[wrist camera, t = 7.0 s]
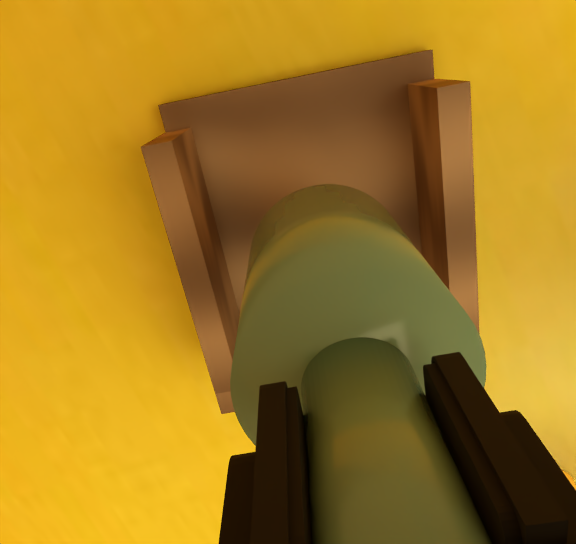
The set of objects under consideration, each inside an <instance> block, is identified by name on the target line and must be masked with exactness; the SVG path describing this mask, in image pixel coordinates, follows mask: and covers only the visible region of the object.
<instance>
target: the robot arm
mask: <svg viewBox="0 0 576 544" xmlns="http://www.w3.org/2000/svg"><path fill="white" fill-rule="evenodd" d="M423 375H424V386H425V396H426V398H427V400H428V402H429V405H430V407H431V409H432V411H433V414H434V416H435V418H436V420H437V422H438V425H439V427H440V429H441V431H442V433H443V436H444V438H445V440H446V442H447V445H448V447H449V449H450V451H451V453H452V456H453V458H454V460H455V462H456V464H457V467H458V469H459V471H460V473H461V476H462V478H463V480H464V482H465V484H466V487H467V489H468V491H469V493H470V496H471V498H472V500H473V502H474V504H475V507H476V509H477V511H478V513H479V515H480V518H481V520H482V522H483V524H484V527H485V529H486V531H487V533H488V535H489V538H490V540H491V542H492V544H576V490H575V488H574V487H573V486H572V484H571V483H570V481H569V480H568V479H567V477H566V476H565V474H564V473H563V471H562V470H561V469H560V467H559V466H558V464H557V463H556V462H555V460H554V459H553V457H552V456H551V454H550V453H549V452H548V450H547V449H546V447H545V446H544V445H543V443H542V442H541V440H540V439H539V437H538V436H537V435H536V433H535V432H534V430H533V429H532V428H531V426H530V425H529V423H528V422H527V420H526V419H525V418H524V417H523V415H522V414H521V413H520V412H518V411H516V410H514V411H508V412H501V413H499V411H498V410H497V408H496V407H495V405H494V403H493V402H492V400H491V399H490V397H489V396H488V394H487V393H486V391H485V389H484V388H483V386H482V385H481V383H480V382H479V380H478V379H477V377H476V375H475V374H474V372H473V371H472V369H471V368H470V366H469V365H468V363H467V361H466V360H465V358H464V357H463V355H462V354H461V353H460V352H455V353H449V354H443V355H437V356H432V358H431V364H427V365H424V366H423ZM219 544H313V543H312V529H311V515H310V501H309V487H308V473H307V459H306V445H305V431H304V417H303V411H302V407H301V402H300V398H299V393H298V389H297V386H295V387H289V388H288V386H287V383H286V381H283V382H277V383H271V384H265V385H260V388H259V403H258V419H257V436H256V452H252V453H246V454H240V455H233V456H231V458H230V461H229V466H228V474H227V482H226V490H225V498H224V506H223V514H222V522H221V530H220V537H219Z"/></svg>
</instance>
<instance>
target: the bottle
mask: <svg viewBox="0 0 576 544" xmlns="http://www.w3.org/2000/svg"><path fill="white" fill-rule="evenodd" d="M455 352H460V353H461V354H462V355H463V357H464V358H465V360H466V361H467V363H468V365H469V366H470V368H471V369H472V371H473V372H474V374H475V375H476V377H477V379H478V380H479V382H480V383H481V385H482V386H483V388H484V385H485V381H486V359H485V351H484V348H483V344H482V340H481V337H480V335H479V333H478V331H477V329H476V327H475V325H474V323H473V322H472V320H471V319H470V317H469V316H468V314H467V313H466V311H465V310H464V309H463V308H462V306H461V305H460V304H459V302H458V301H457V300H456V299H455V297H454V296H453V295H452V293H451V292H450V291H449V290H448V288H447V287H446V286H445V284H444V283H443V282H442V281H441V279H440V278H439V277H438V275H437V274H436V273H435V272H434V270H433V269H432V268H431V266H430V265H429V264H428V262H427V261H426V260H425V259H424V257H423V256H422V255H421V253H420V252H419V251H418V250H417V248H416V247H415V246H414V244H413V243H412V242H411V241H410V239H409V238H408V237H407V235H406V234H405V233H404V232H403V230H402V229H401V228H400V226H399V225H398V224H397V223H396V221H395V220H394V219H393V217H392V216H391V215H390V214H389V212H388V211H387V210H386V209H385V208H384V207H383V206H382V204H380V203H379V202H378V201H377V200H376V199H374V198H373V197H371V196H370V195H368V194H366V193H365V192H362V191H360V190H358V189H355V188H352V187H348V186H344V185H337V184H321V185H313V186H309V187H306V188H302V189H300V190H297V191H295V192H293V193H291V194H289V195H287V196H285V197H284V198H282V199H281V200H280V201H278V202H277V203H276V204H275V205H274V206H273V207H272V208H271V209H270V210H269V211H268V212H267V213H266V214H265V216H264V217H263V218H262V220H261V221H260V223H259V225H258V227H257V229H256V231H255V234H254V236H253V240H252V243H251V248H250V255H249V261H248V267H247V274H246V280H245V286H244V292H243V299H242V305H241V311H240V318H239V324H238V330H237V336H236V343H235V349H234V355H233V362H232V369H231V377H230V388H231V398H232V403H233V408H234V410H235V413H236V416H237V418H238V421H239V423H240V425H241V426H242V428H243V430H244V432H245V433H246V435H247V436H248V437H249V438H250V440H251V441H252V442H253V444H254V445H255V446H256V436H257V419H258V403H259V388H260V385H265V384H271V383H277V382H283V381H286V383H287V386H288V388H289V387H295V386H297V389H298V393H299V398H300V402H301V407H302V411H303V417H304V431H305V445H306V459H307V473H308V487H309V501H310V515H311V529H312V543H313V544H492V542H491V540H490V538H489V535H488V533H487V531H486V529H485V527H484V524H483V522H482V520H481V518H480V515H479V513H478V511H477V509H476V507H475V504H474V502H473V500H472V498H471V496H470V493H469V491H468V489H467V487H466V484H465V482H464V480H463V478H462V476H461V473H460V471H459V469H458V467H457V464H456V462H455V460H454V458H453V456H452V453H451V451H450V449H449V447H448V445H447V442H446V440H445V438H444V436H443V433H442V431H441V429H440V427H439V425H438V422H437V420H436V418H435V416H434V414H433V411H432V409H431V407H430V405H429V402H428V400H427V398H426V396H425V386H424V375H423V366H424V365H427V364H431V358H432V356H437V355H443V354H449V353H455Z"/></svg>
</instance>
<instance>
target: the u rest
mask: <svg viewBox="0 0 576 544" xmlns="http://www.w3.org/2000/svg"><path fill="white" fill-rule="evenodd" d="M158 106H159V109H160V113H161V116H162V120H163V124H164V127H165V131H166V133H164V134H162V135H161V136H159V137H157V138H155V139H154V140H152V141H150V142H148V143H147V144H145V145H143V146H142V147H141V149H142V153H143V156H144V159H145V163H146V166H147V169H148V173H149V176H150V179H151V182H152V186H153V189H154V192H155V196H156V199H157V202H158V206H159V209H160V212H161V216H162V219H163V222H164V225H165V229H166V232H167V235H168V239H169V242H170V245H171V249H172V252H173V255H174V258H175V262H176V265H177V268H178V272H179V275H180V278H181V282H182V285H183V288H184V291H185V295H186V298H187V301H188V305H189V308H190V311H191V315H192V318H193V321H194V325H195V328H196V331H197V334H198V338H199V341H200V344H201V348H202V351H203V354H204V358H205V361H206V364H207V367H208V371H209V374H210V377H211V381H212V384H213V387H214V391H215V394H216V397H217V400H218V404H219V407H220V410H221V414H224V413H230V412H235V410H234V408H233V403H232V398H231V388H230V377H231V369H232V362H233V355H234V349H235V343H236V336H237V330H238V324H239V318H240V311H241V305H242V299H243V292H244V286H245V280H246V274H247V267H248V261H249V255H250V248H251V243H252V240H253V236H254V234H255V231H256V229H257V227H258V225H259V223H260V221H261V220H262V218H263V217H264V216H265V214H266V213H267V212H268V211H269V210H270V209H271V208H272V207H273V206H274V205H275V204H276V203H277V202H278V201H280V200H281V199H282V198H284V197H285V196H287V195H289V194H291V193H293V192H295V191H297V190H300V189H302V188H306V187H309V186H313V185H321V184H337V185H344V186H348V187H352V188H355V189H358V190H360V191H362V192H365V193H366V194H368V195H370V196H371V197H373V198H374V199H376V200H377V201H378V202H379V203H380V204H382V206H383V207H384V208H385V209H386V210H387V211H388V212H389V214H390V215H391V216H392V217H393V219H394V220H395V221H396V223H397V224H398V225H399V226H400V228H401V229H402V230H403V232H404V233H405V234H406V235H407V237H408V238H409V239H410V241H411V242H412V243H413V244H414V246H415V247H416V248H417V250H418V251H419V252H420V253H421V255H422V256H423V257H424V259H425V260H426V261H427V262H428V264H429V265H430V266H431V268H432V269H433V270H434V272H435V273H436V274H437V275H438V277H439V278H440V279H441V281H442V282H443V283H444V284H445V286H446V287H447V288H448V290H449V291H450V292H451V293H452V295H453V296H454V297H455V299H456V300H457V301H458V302H459V304H460V305H461V306H462V308H463V309H464V310H465V311H466V313H467V314H468V316H469V317H470V319H471V320H472V322H473V323H474V325H475V327H476V329H477V331H478V333H479V311H478V284H477V256H476V229H475V202H474V175H473V147H472V120H471V93H470V81H457V80H444V79H434V67H433V51H432V50H426V51H421V52H416V53H412V54H407V55H402V56H397V57H392V58H387V59H382V60H377V61H372V62H367V63H362V64H358V65H353V66H348V67H343V68H338V69H333V70H328V71H323V72H318V73H313V74H308V75H304V76H299V77H294V78H289V79H284V80H279V81H274V82H269V83H264V84H259V85H254V86H249V87H245V88H240V89H235V90H230V91H225V92H220V93H215V94H210V95H205V96H200V97H195V98H191V99H186V100H181V101H176V102H171V103H166V104H162V105H158Z"/></svg>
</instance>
